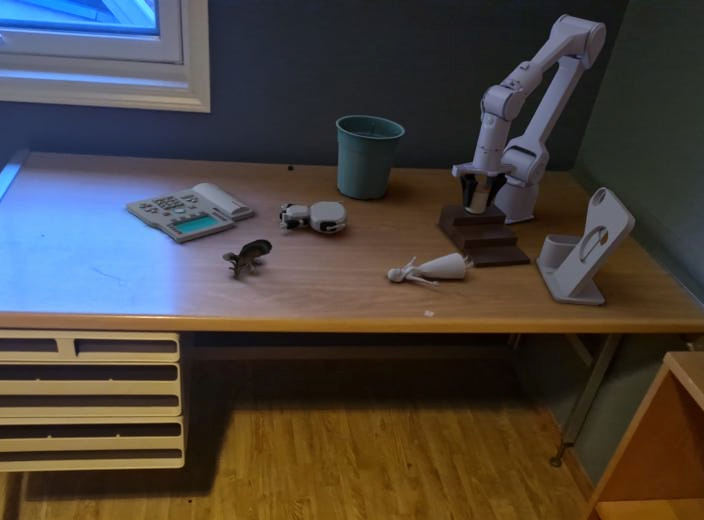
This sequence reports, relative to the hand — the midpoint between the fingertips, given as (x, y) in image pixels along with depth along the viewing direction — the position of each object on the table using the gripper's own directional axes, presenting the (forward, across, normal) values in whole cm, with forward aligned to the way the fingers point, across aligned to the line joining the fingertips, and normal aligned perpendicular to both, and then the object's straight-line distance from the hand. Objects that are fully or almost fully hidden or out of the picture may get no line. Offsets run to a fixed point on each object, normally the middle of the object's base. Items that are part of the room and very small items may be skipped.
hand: (475, 205), depth 149 cm
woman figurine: (+6, -18, -19) cm, 27 cm away
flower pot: (+6, -18, +24) cm, 31 cm away
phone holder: (+6, +11, -24) cm, 27 cm away
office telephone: (+6, -62, +14) cm, 63 cm away
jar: (+1, 0, 0) cm, 1 cm away
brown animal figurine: (+6, -54, -12) cm, 56 cm away
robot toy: (+6, -36, +6) cm, 37 cm away
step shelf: (+6, 0, -6) cm, 9 cm away
